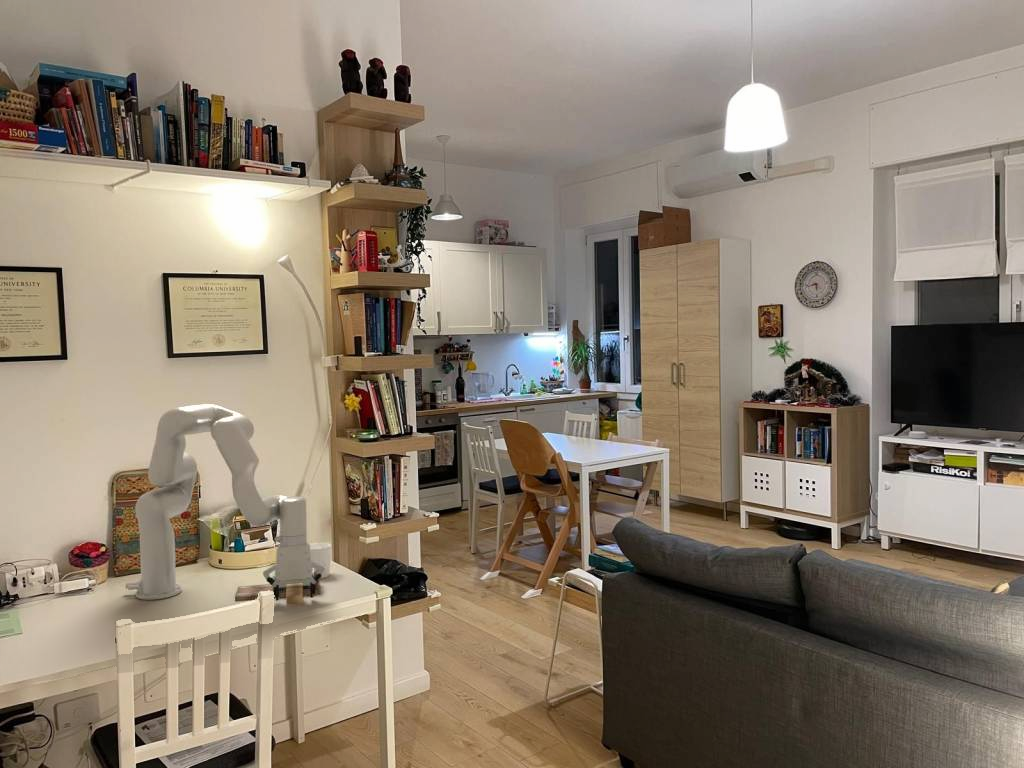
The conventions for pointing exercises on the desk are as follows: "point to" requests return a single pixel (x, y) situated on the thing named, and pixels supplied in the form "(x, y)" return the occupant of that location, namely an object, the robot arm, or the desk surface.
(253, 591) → the rail
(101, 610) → the desk surface
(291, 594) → the block
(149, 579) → the robot arm
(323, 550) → the white cup
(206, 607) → the desk surface
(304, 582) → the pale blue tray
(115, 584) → the desk surface
